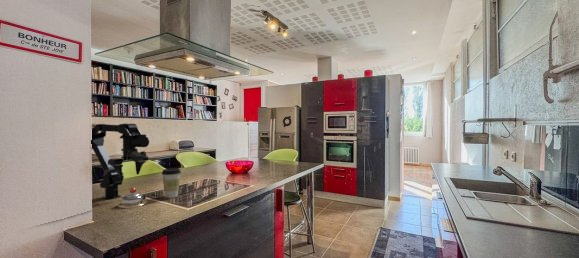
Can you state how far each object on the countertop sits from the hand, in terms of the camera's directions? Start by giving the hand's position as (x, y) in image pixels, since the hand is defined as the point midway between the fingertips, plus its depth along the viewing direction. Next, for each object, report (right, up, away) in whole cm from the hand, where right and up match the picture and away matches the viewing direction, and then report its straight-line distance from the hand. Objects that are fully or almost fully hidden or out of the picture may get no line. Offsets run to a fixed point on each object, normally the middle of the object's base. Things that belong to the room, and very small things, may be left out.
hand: (129, 175), depth 132 cm
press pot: (+7, -13, -8) cm, 17 cm away
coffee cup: (+20, -13, +6) cm, 24 cm away
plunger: (+7, -9, -8) cm, 14 cm away
